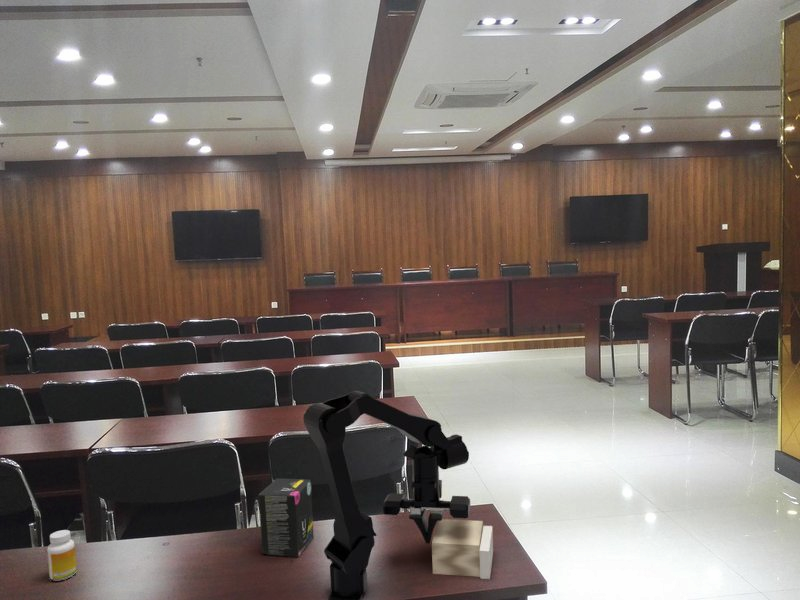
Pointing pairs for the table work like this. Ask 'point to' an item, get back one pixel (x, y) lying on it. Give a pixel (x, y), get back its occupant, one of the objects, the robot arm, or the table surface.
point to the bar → (486, 552)
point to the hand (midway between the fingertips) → (428, 542)
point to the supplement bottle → (61, 555)
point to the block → (457, 547)
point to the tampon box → (286, 517)
